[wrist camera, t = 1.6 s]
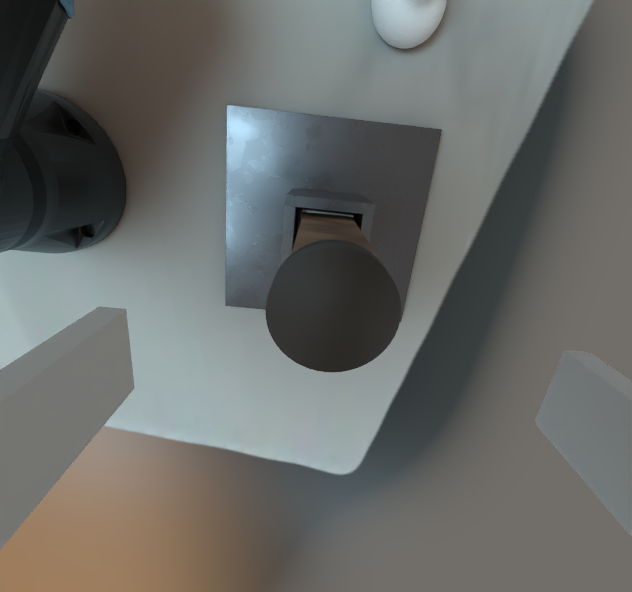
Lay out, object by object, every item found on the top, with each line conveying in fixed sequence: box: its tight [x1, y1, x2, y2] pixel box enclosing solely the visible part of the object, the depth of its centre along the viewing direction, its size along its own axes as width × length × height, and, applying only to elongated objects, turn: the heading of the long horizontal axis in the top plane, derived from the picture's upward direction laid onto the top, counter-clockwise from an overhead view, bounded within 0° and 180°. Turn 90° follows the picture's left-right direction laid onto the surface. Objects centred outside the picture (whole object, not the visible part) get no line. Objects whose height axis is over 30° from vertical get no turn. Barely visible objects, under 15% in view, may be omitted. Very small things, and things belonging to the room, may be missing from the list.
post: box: [266, 208, 401, 372], centre depth 24 cm, size 6×6×22 cm
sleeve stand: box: [226, 105, 441, 322], centre depth 31 cm, size 20×20×10 cm
